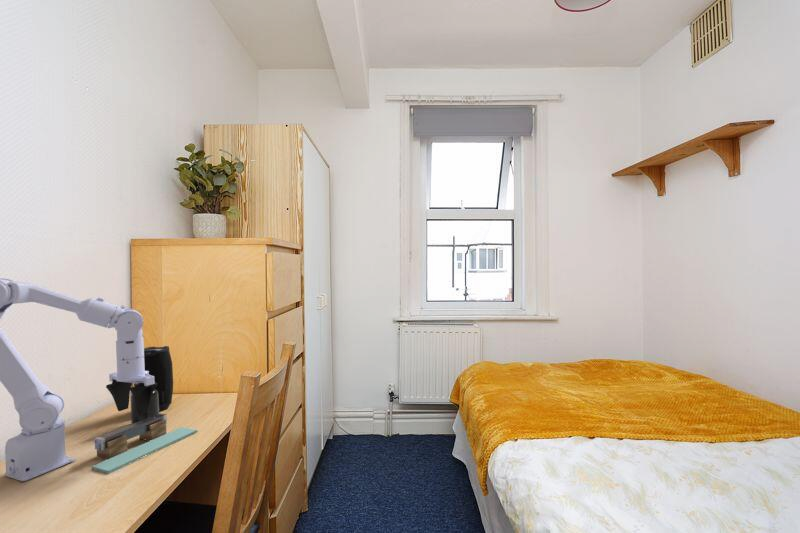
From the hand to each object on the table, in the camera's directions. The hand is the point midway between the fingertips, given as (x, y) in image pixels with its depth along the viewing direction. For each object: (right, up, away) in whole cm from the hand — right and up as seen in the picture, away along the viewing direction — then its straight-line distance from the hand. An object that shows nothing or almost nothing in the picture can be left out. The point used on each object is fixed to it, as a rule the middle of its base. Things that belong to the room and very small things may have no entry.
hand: (132, 411), depth 97 cm
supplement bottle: (-6, -9, +15) cm, 18 cm away
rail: (0, -6, 0) cm, 6 cm away
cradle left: (-2, -9, -5) cm, 10 cm away
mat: (+6, -8, -2) cm, 10 cm away
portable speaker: (-10, -9, +26) cm, 30 cm away
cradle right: (+2, -9, +5) cm, 10 cm away
